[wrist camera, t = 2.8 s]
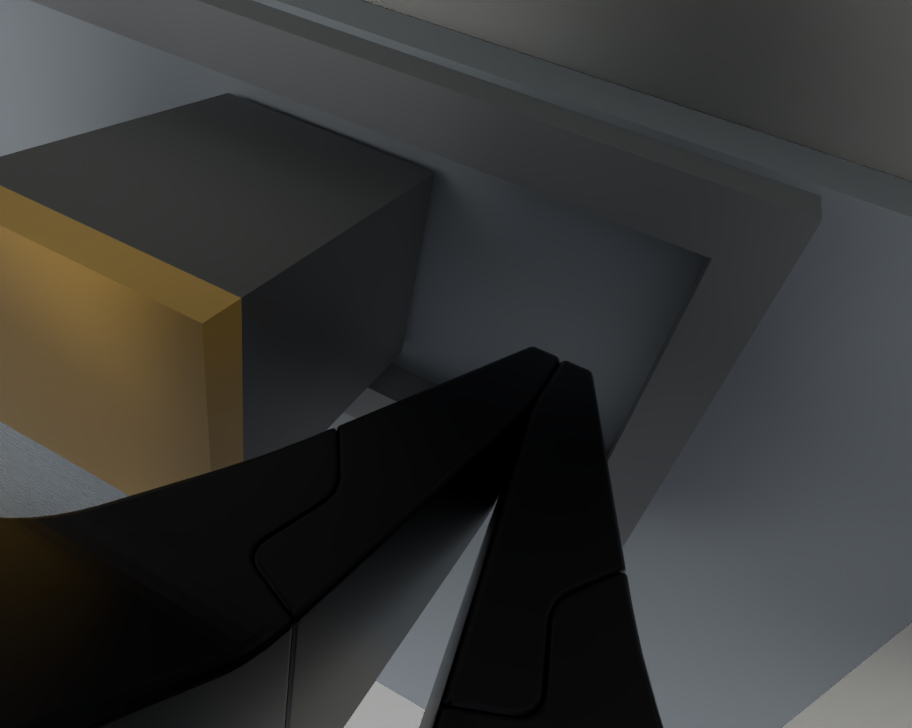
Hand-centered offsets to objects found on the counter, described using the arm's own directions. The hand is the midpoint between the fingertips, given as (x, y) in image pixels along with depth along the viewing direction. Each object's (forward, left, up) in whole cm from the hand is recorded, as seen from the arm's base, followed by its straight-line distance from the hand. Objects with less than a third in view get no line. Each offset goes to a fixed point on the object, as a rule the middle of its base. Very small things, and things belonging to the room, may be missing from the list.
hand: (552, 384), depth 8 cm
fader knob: (+4, 0, -1) cm, 5 cm away
